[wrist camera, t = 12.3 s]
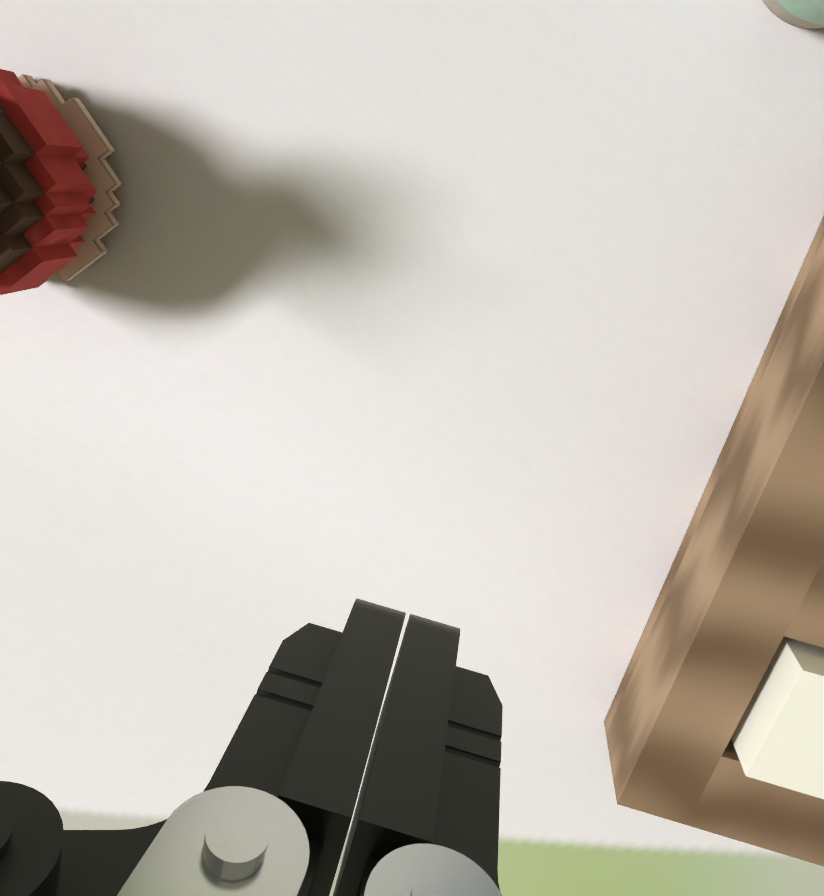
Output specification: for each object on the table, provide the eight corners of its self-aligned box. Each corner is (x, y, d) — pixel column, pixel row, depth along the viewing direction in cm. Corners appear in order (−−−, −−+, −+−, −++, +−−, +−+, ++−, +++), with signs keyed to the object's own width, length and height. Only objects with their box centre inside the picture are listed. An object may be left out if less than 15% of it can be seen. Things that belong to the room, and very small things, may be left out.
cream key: (772, 618, 35) (802, 670, 31) (897, 654, 34) (943, 711, 31) (722, 716, 37) (745, 775, 33) (840, 751, 37) (876, 815, 33)
